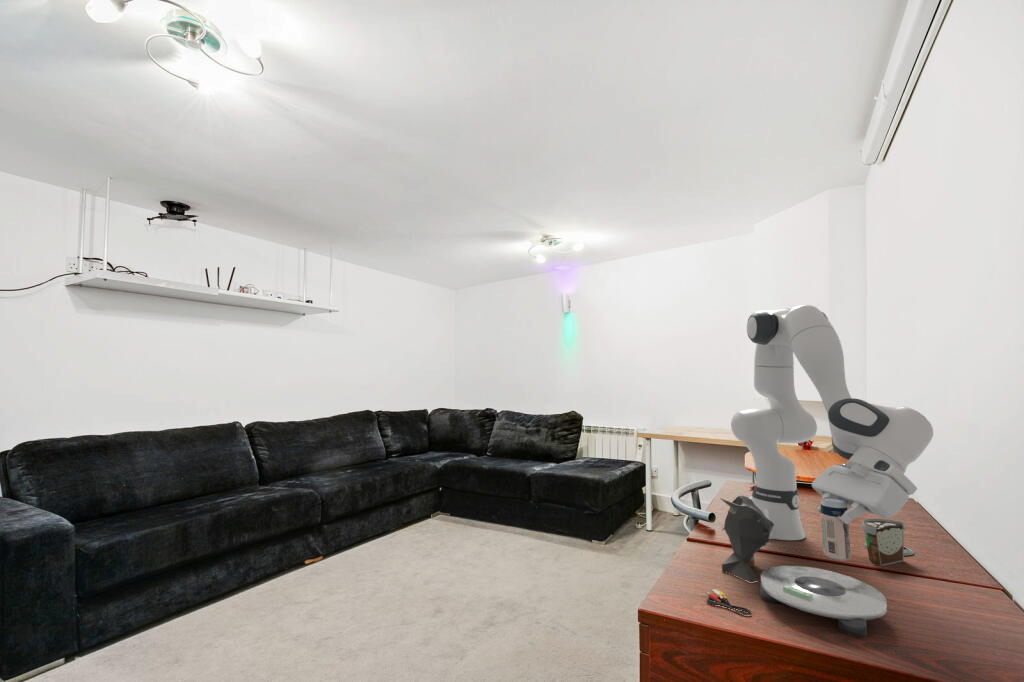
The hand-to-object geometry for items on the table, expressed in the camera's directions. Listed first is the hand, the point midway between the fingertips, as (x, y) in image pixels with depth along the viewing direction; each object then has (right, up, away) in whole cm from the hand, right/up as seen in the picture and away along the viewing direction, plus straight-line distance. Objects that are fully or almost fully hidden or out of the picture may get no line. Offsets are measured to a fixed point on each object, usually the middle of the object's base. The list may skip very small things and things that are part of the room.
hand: (831, 516), depth 100 cm
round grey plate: (-4, -18, -2) cm, 19 cm away
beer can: (+1, -9, -1) cm, 9 cm away
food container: (+30, -21, +25) cm, 44 cm away
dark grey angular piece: (-9, -21, +19) cm, 29 cm away
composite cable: (-23, -19, -2) cm, 30 cm away
